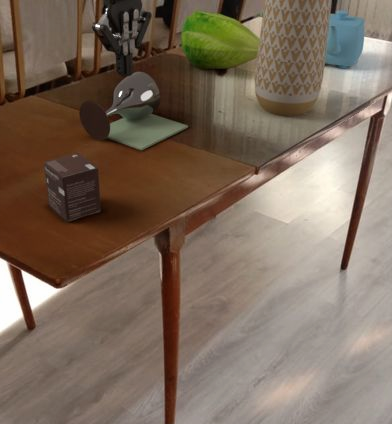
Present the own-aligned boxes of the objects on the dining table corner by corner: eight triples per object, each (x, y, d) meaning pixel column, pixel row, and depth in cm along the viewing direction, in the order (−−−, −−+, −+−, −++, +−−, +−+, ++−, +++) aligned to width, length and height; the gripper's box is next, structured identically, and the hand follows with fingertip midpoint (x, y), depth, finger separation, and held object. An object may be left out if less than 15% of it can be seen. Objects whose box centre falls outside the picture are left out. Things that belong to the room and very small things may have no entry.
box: (48, 206, 97) (41, 161, 92) (82, 196, 100) (78, 151, 95) (67, 223, 93) (61, 177, 88) (102, 211, 96) (98, 166, 91)
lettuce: (250, 85, 141) (255, 28, 133) (169, 71, 147) (170, 15, 139) (269, 68, 151) (275, 13, 143) (193, 55, 156) (195, 2, 148)
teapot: (299, 70, 150) (307, 17, 143) (316, 50, 163) (323, 1, 156) (351, 78, 147) (361, 25, 140) (363, 57, 160) (373, 7, 153)
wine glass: (73, 124, 117) (122, 96, 126) (105, 150, 117) (152, 121, 126) (82, 89, 111) (133, 62, 120) (116, 117, 110) (165, 88, 119)
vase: (323, 120, 127) (353, -58, 107) (256, 119, 126) (273, -61, 106) (310, 96, 137) (336, -71, 117) (248, 95, 136) (263, -73, 116)
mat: (141, 150, 113) (141, 148, 113) (92, 133, 118) (92, 131, 118) (187, 127, 122) (187, 125, 122) (140, 112, 127) (140, 110, 127)
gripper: (129, -47, 105) (133, 62, 116) (73, -37, 96) (83, 80, 108) (165, -41, 101) (164, 71, 113) (109, -29, 93) (115, 90, 105)
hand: (124, 75), depth 110 cm, fingers closed
